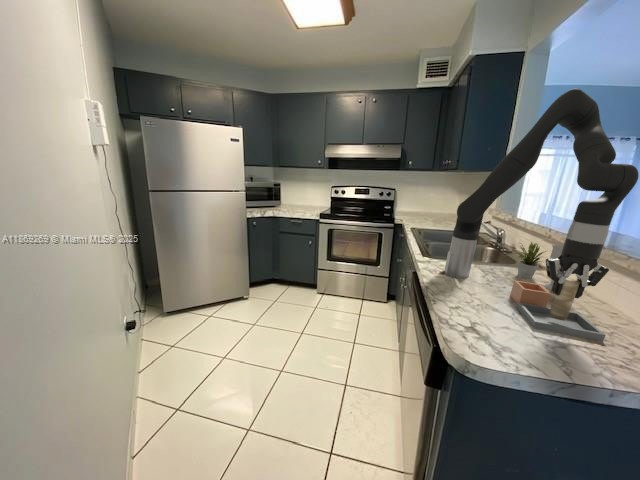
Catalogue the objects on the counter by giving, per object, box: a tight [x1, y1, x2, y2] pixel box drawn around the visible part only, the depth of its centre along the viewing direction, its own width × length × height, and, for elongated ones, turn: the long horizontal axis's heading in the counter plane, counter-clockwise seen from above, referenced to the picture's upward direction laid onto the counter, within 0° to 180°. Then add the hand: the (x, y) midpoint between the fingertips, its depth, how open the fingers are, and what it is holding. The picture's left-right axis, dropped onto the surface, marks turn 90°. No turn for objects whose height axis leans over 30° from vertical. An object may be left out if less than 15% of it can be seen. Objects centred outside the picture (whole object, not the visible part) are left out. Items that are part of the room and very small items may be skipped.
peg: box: [549, 277, 580, 321], centre depth 75 cm, size 4×4×12 cm
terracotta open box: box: [509, 279, 551, 307], centre depth 88 cm, size 8×8×7 cm
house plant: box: [513, 241, 547, 279], centre depth 115 cm, size 14×14×16 cm
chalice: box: [543, 244, 564, 291], centre depth 100 cm, size 7×7×18 cm
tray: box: [516, 302, 606, 342], centre depth 77 cm, size 16×12×3 cm
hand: (565, 295), depth 75 cm, fingers closed on peg, 4 cm apart
